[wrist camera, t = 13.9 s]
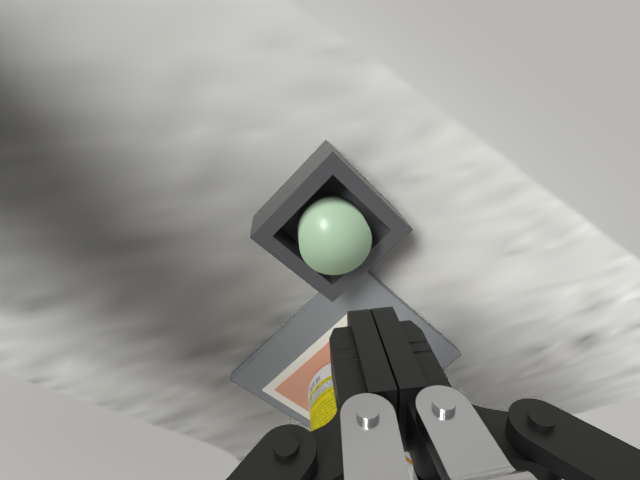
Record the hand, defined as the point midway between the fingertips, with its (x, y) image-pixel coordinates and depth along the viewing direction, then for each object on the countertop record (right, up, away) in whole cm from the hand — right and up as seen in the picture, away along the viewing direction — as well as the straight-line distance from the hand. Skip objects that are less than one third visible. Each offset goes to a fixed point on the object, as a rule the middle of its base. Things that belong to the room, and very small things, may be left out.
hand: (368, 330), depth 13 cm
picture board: (0, -6, +15) cm, 16 cm away
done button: (-1, +4, +8) cm, 9 cm away
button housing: (-1, +5, +10) cm, 11 cm away
